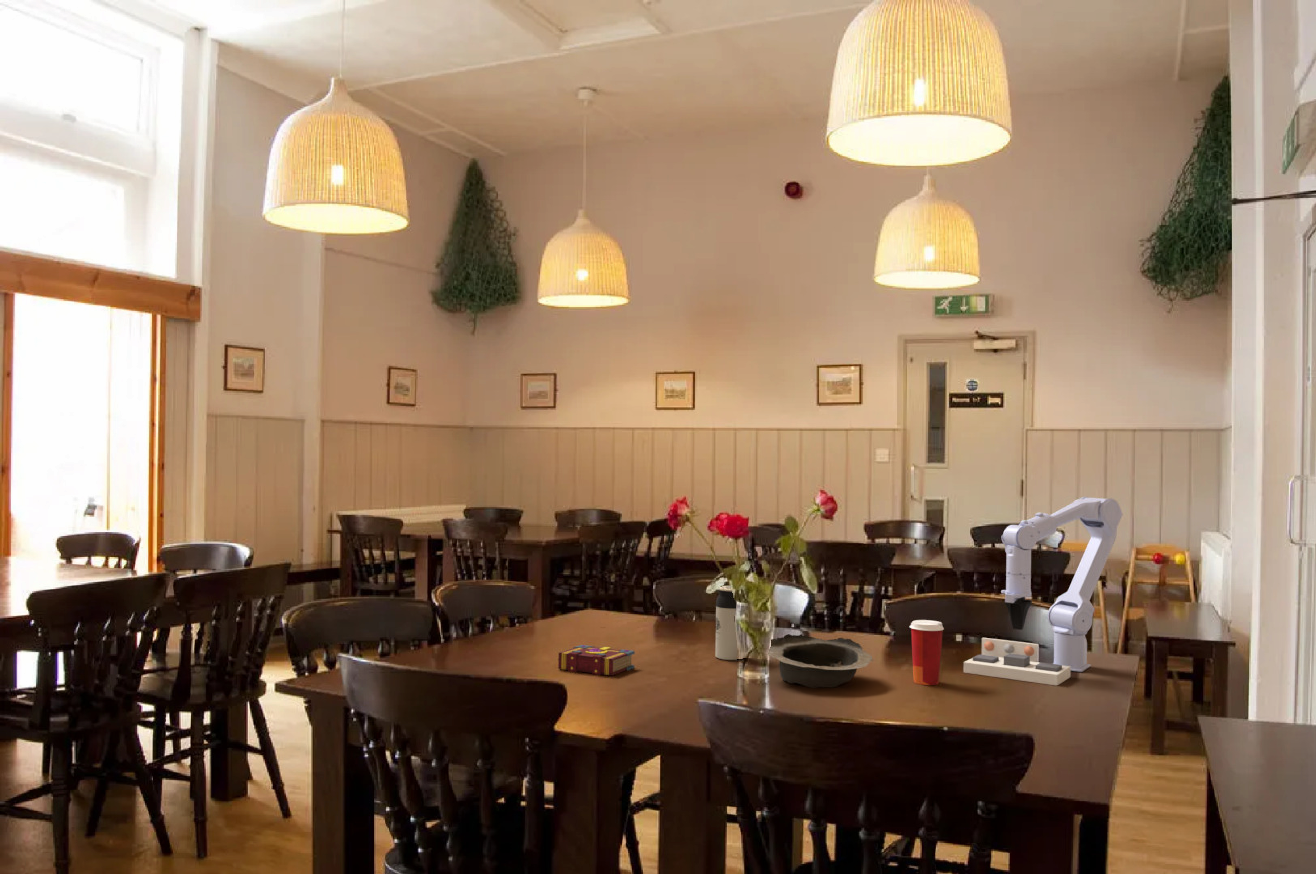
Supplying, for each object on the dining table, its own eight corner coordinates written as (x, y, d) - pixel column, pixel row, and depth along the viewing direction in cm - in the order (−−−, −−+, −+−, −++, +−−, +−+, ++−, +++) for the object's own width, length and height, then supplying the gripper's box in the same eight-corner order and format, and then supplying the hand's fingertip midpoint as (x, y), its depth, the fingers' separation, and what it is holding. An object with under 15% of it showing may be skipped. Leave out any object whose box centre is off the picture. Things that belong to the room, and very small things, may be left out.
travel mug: (746, 655, 266) (747, 586, 267) (746, 661, 259) (747, 590, 259) (716, 654, 267) (717, 585, 268) (714, 660, 259) (715, 589, 260)
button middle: (1009, 665, 252) (1009, 653, 252) (1029, 667, 249) (1029, 655, 249) (1003, 668, 248) (1003, 656, 248) (1023, 671, 245) (1024, 658, 245)
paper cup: (947, 681, 239) (947, 621, 239) (938, 688, 233) (938, 626, 233) (914, 677, 243) (914, 618, 243) (904, 683, 237) (905, 622, 237)
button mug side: (979, 666, 256) (979, 654, 256) (998, 668, 253) (998, 657, 253) (972, 669, 252) (973, 657, 252) (992, 671, 249) (992, 659, 249)
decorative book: (612, 678, 238) (612, 656, 238) (552, 670, 245) (553, 649, 245) (634, 669, 248) (634, 648, 248) (577, 662, 256) (577, 642, 256)
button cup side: (1041, 674, 247) (1041, 662, 247) (1061, 677, 244) (1061, 665, 245) (1035, 677, 243) (1035, 665, 243) (1056, 680, 241) (1056, 668, 241)
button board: (979, 664, 260) (979, 654, 260) (1070, 677, 247) (1070, 666, 247) (963, 672, 250) (963, 662, 250) (1057, 685, 237) (1057, 674, 237)
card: (982, 660, 265) (983, 637, 265) (1038, 668, 256) (1038, 644, 257) (980, 661, 264) (981, 638, 264) (1036, 669, 255) (1037, 645, 255)
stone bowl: (798, 664, 255) (801, 627, 255) (889, 688, 239) (893, 648, 239) (741, 678, 236) (745, 638, 236) (836, 705, 220) (840, 662, 220)
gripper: (1011, 570, 261) (1010, 623, 261) (992, 575, 249) (992, 631, 249) (1039, 572, 257) (1038, 626, 256) (1022, 577, 245) (1021, 634, 245)
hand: (1017, 629), depth 252 cm, fingers closed
